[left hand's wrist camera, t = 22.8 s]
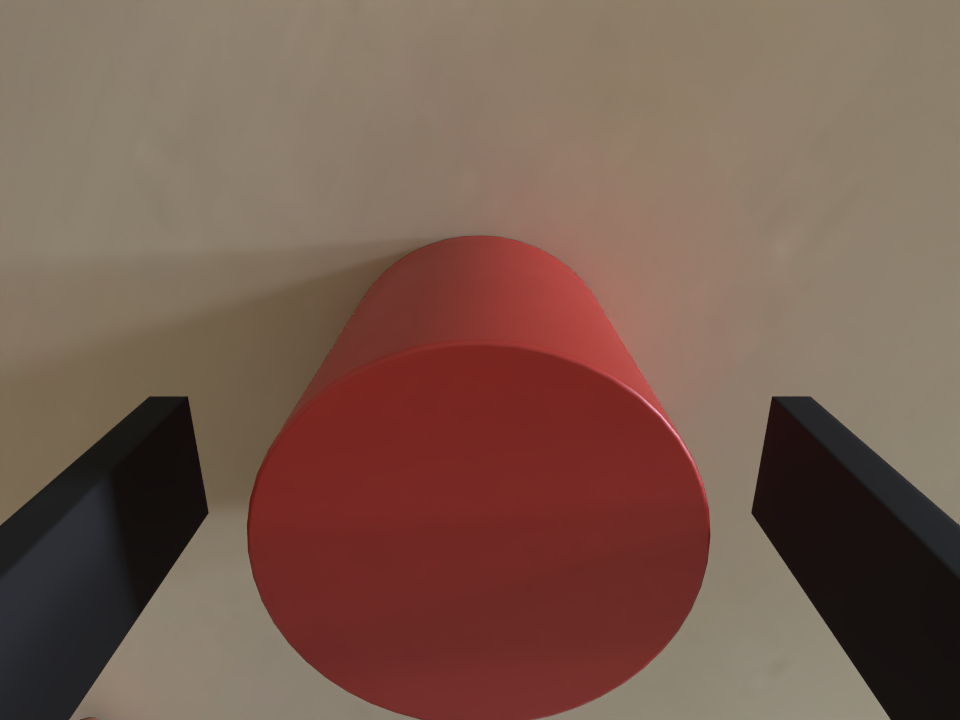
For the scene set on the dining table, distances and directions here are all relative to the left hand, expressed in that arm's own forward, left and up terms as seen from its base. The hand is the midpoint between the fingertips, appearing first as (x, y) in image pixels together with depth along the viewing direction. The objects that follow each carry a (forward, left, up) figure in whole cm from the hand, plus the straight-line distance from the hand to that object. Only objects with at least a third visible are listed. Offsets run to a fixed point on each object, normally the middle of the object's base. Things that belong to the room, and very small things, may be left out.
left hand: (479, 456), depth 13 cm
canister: (0, 0, -5) cm, 5 cm away
